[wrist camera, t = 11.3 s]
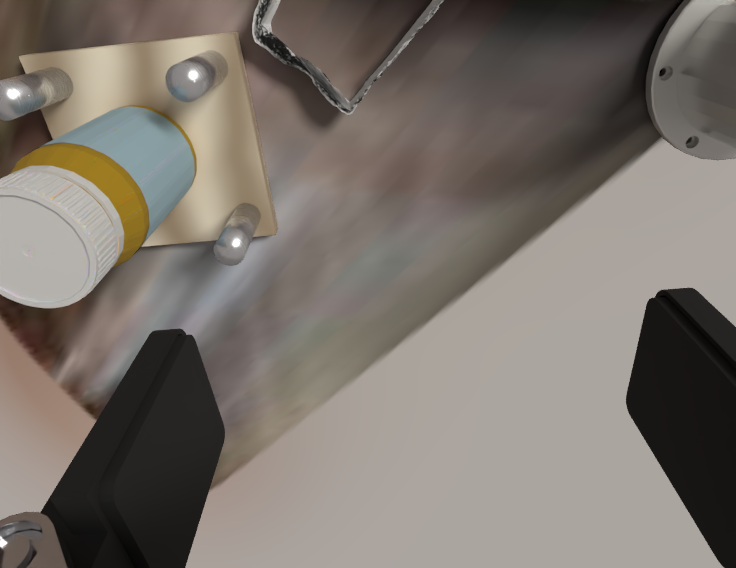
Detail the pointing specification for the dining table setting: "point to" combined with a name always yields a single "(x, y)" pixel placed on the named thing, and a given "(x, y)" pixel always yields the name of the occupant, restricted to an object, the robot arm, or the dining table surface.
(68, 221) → the bottle
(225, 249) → the holder pins
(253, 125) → the holder base
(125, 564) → the robot arm
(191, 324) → the dining table surface
